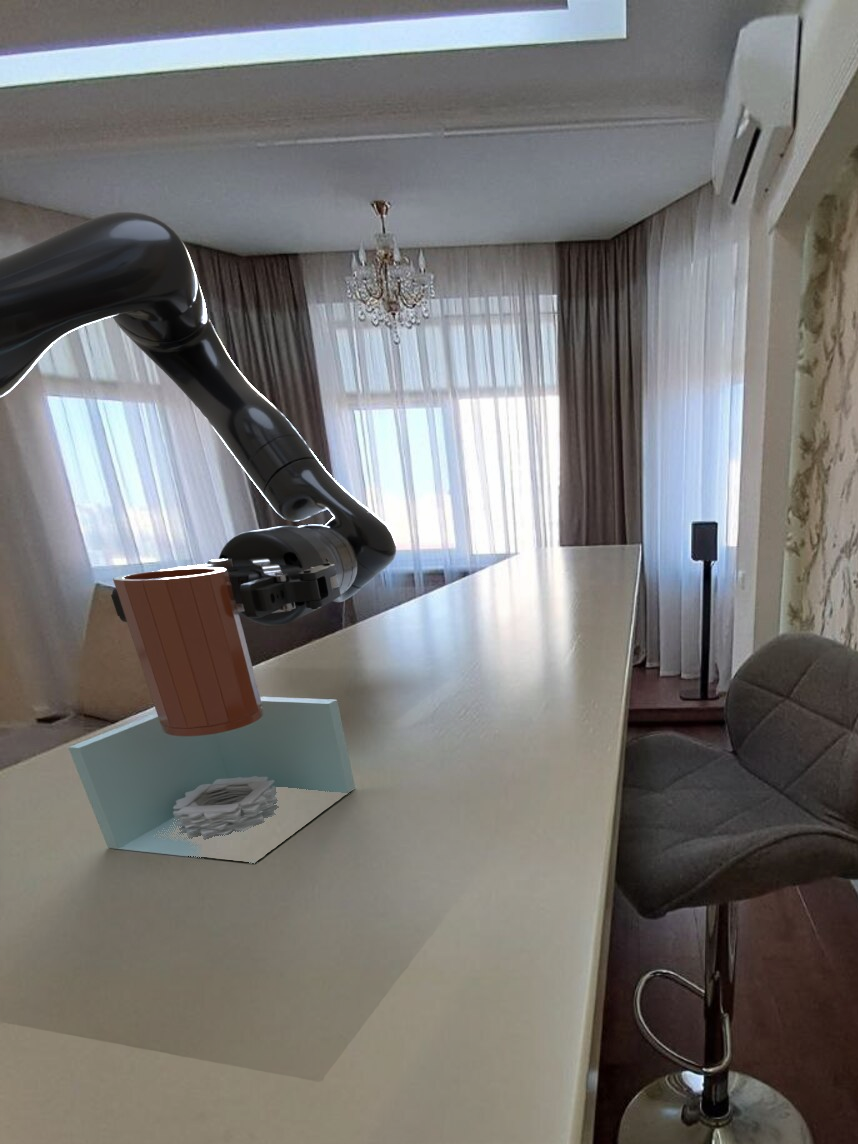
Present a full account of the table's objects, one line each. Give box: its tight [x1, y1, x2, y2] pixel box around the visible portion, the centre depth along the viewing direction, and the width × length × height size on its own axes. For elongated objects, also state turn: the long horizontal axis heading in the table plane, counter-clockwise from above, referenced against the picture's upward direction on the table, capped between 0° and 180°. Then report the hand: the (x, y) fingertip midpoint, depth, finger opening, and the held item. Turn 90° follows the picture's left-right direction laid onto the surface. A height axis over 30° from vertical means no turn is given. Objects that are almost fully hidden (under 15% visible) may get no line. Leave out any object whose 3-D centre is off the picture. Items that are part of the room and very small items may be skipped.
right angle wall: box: [67, 695, 356, 865], centre depth 50 cm, size 12×12×8 cm
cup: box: [112, 567, 263, 736], centre depth 46 cm, size 6×6×10 cm
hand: (184, 604), depth 45 cm, fingers open, 8 cm apart
